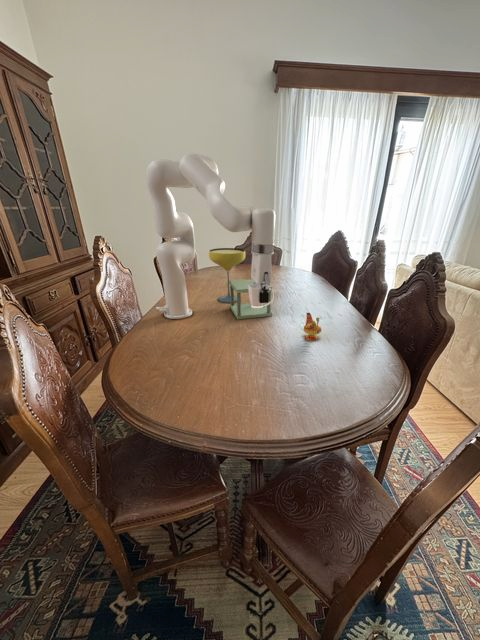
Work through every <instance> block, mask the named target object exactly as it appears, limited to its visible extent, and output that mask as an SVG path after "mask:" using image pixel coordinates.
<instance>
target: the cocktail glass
mask: <svg viewBox="0 0 480 640" xmlns="http://www.w3.org/2000/svg"><path fill="white" fill-rule="evenodd" d="M208 257H209V260H210V261H211V262H212V263H214V264H216V265H218V266H220V267H222V268H223V269H224V270H225V272H227V295H224V296H221V297H219V298H218V301H219V302H221V303H225V304H226V303H227V304H231V292H230V284H229V281H230V272H231V270H232V269H233V268H234V267H236V266H237V265H239V264H241V263H243V261H245V259H246V250H244V249H242V248H236V247H235V248H234V247H232V248H231V247H222V248H221V247H220V248H219V247H218V248H213V249H210V250H209V251H208ZM234 303H237V296H235V295H234Z"/></svg>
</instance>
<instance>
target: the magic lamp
mask: <svg viewBox="0 0 480 640" xmlns="http://www.w3.org/2000/svg"><path fill="white" fill-rule="evenodd" d="M305 314H306V320H305V325H304V326H303V332H304V333H305V334H307V335H305V337H304V338H305V340H307V341H310V342H311V341H312V342H315V341H318V340H319V337H318V336H317V335H319V334H320V333H322V329H323V328H322V327H321V326H320V325H319V322H320V317H316V318H315V320H314V319H313V317H312V314H311V313H310V312H306V313H305Z"/></svg>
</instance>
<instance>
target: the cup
mask: <svg viewBox="0 0 480 640" xmlns="http://www.w3.org/2000/svg"><path fill="white" fill-rule="evenodd" d="M264 286H265V285H263V287H264ZM269 290H272V291H271V293H272V295H273V297H272V298H271V302H269V303H268V304H267V303H265V304H264V303H260V302H259V299H260V292H261V289H260V284H257V283H254V284H250V285H249V286H248V291H249V292H248V296H249V297H248V298H249V303H251V308H253V309H262V307H266V308H267V306H268V305H269V304H270V303H271V304H272V303H273V302H274V300H275V298H276V297H275V296H276V295H275V292H274V289H273V288H272V289H270V288H269ZM262 305H264V306H262Z"/></svg>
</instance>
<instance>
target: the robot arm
mask: <svg viewBox="0 0 480 640" xmlns="http://www.w3.org/2000/svg"><path fill="white" fill-rule="evenodd" d="M145 180H146V185H147V189H148V192H149V195H150V199H151V203H152V204H151V205H152V211H153V218H154V224H155V230H156V232H157V234H158V237H160V238H163V239H172V238H173V239H174V238H175V239H176V240H171V241H165V242H162V243H160V244H158V245H157V247H156V249H155V255H156V259H157V262H158V265H159V268H160V273H161V279H162V280H161V281H162V286H163V293H164V298H165V299H164V300H165V305H163V306H156V307H155V309H156V312H159V313H163V315H164V317H165V318H167V319H170V320H181V319H182V320H183V319H187V318H189V317H191V316H192V315H193V310H192V309H191V308H189V302H188V301H189V300H188V291H187V283H186V282H187V281H186V276H185V272H184V270H183V269H182V268H181V266H180V265H182V264H183V265H184V264H187V263H191V262H192V261H194V259H195V257H196V252H197V251H196V240H195V231H194V230H195V229H194V224H193V221H192V219H191V217H190V216H189V215H188V214H187V213H186V212H182V211H177V208H176V201H175V198H174V196H173V194H172V192H171V191H170V190H169V188H179V189H181V188H182V189H191V188H194V189H195V190H196V191H197V192H198V193H199V194H200V195H201V196H202V197H203V198H204V199H205V200H206V204H207V208H208V210H209V212H210V214H211V215H212V217H213V218H214V220H216V221H217V222H218V223H219V224H220V226H222V227H223V228H224V229H225V230H227V231H228V232H231V233H239V232H248V231H251V251H250V252H251V255H252V256H251V267H250V268H251V269H250V278H251V279H252V280H253V281H254V283H257V284H260V289H261V292H260V299H259V302H260V303H263V304H267V303H268V297H269V287H270V286H271V283H272V269H273V268H272V267H273V265H272V255H274V248H275V247H274V246H275V228H276V212H275V210H274V209H272V208H261V207H260V208H259V207H258V208H256V207H253V206H234V205H233V204H232V203H231V202H230V201H229V200H228V199H227V198H226V197H225V196H224V195H223V194H224V193H225V189H226V183H225V180H224V179H223V178H222V177H221V176H220V175H219V169H218V165H217V163H216V161H215V160H214V159H213V158H212V157H210V156H208V155H204V154H198V153H193V152H191V153H190V152H189V153H186V154H184V155H183V156H182V157H181V158H180V160H179V161H177V160H172V159H165V158H159V159H155V160H152V161H151V162H150V163H149V164H148V166H147V167H146V172H145ZM262 282H265V283H262ZM263 285H265V286H264V287H263Z"/></svg>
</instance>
